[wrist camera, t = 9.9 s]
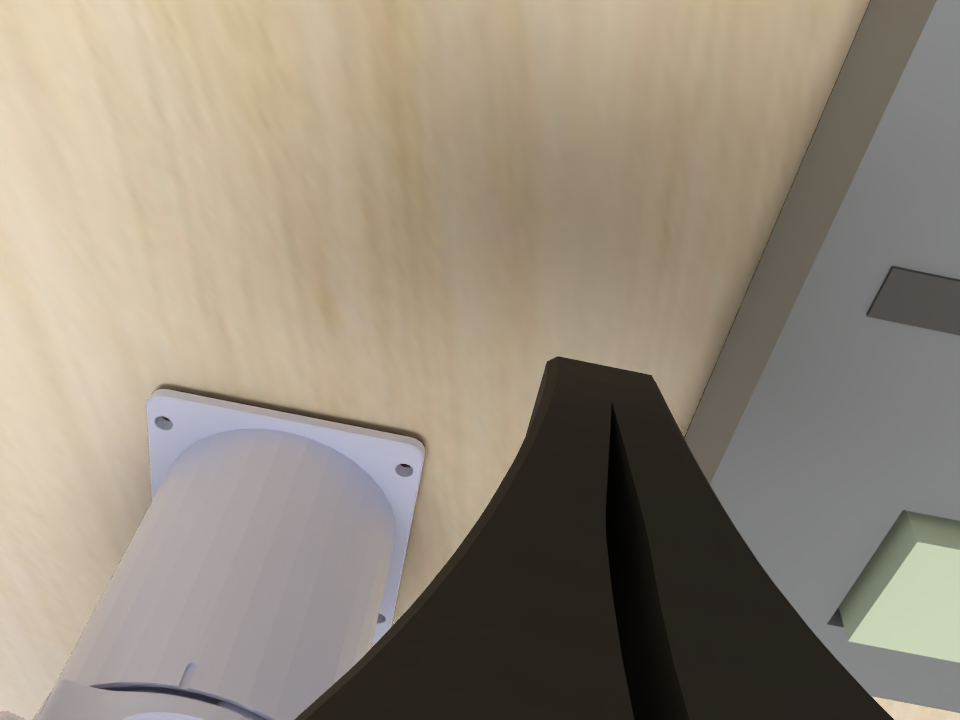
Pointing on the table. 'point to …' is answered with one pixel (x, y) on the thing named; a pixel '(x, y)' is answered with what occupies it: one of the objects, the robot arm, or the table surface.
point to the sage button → (910, 590)
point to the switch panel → (853, 343)
